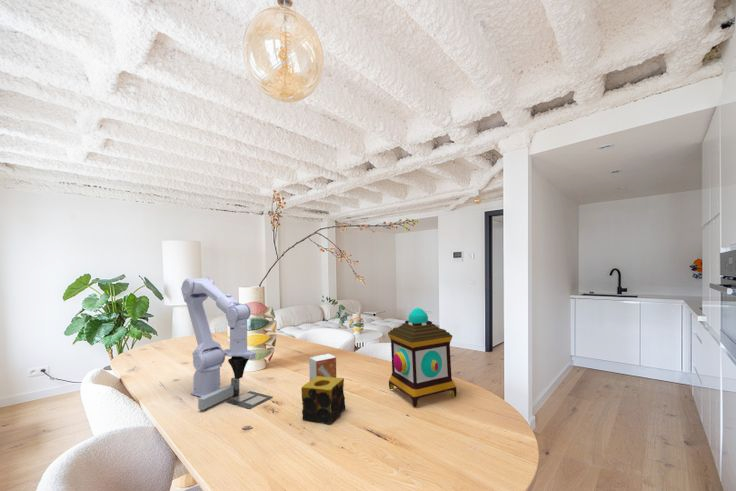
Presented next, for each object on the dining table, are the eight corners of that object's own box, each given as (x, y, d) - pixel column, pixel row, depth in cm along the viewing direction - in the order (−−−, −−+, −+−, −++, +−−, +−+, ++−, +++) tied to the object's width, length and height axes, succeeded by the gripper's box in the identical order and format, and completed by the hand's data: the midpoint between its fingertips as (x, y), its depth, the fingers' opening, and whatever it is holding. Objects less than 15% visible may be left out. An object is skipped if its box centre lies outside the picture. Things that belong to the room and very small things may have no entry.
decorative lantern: (412, 411, 95) (408, 313, 97) (383, 389, 113) (380, 307, 115) (463, 398, 103) (458, 308, 105) (428, 379, 121) (425, 302, 123)
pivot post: (229, 395, 112) (229, 379, 112) (236, 393, 114) (236, 376, 115) (234, 397, 110) (234, 380, 111) (241, 394, 113) (241, 377, 113)
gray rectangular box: (228, 394, 111) (228, 385, 111) (233, 395, 110) (233, 385, 110) (198, 408, 100) (198, 398, 101) (203, 409, 99) (203, 399, 100)
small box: (316, 399, 106) (315, 361, 107) (309, 393, 111) (308, 357, 112) (337, 393, 111) (336, 356, 112) (329, 388, 116) (328, 353, 117)
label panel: (226, 402, 106) (226, 400, 106) (250, 391, 115) (250, 390, 115) (249, 409, 100) (249, 407, 100) (272, 397, 109) (272, 396, 109)
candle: (346, 409, 98) (345, 377, 99) (332, 425, 88) (331, 390, 89) (317, 406, 101) (317, 375, 102) (301, 421, 92) (300, 386, 92)
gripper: (215, 340, 109) (215, 379, 108) (244, 343, 103) (244, 384, 102) (231, 335, 115) (231, 372, 114) (260, 338, 109) (260, 377, 108)
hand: (238, 378), depth 108 cm, fingers closed
